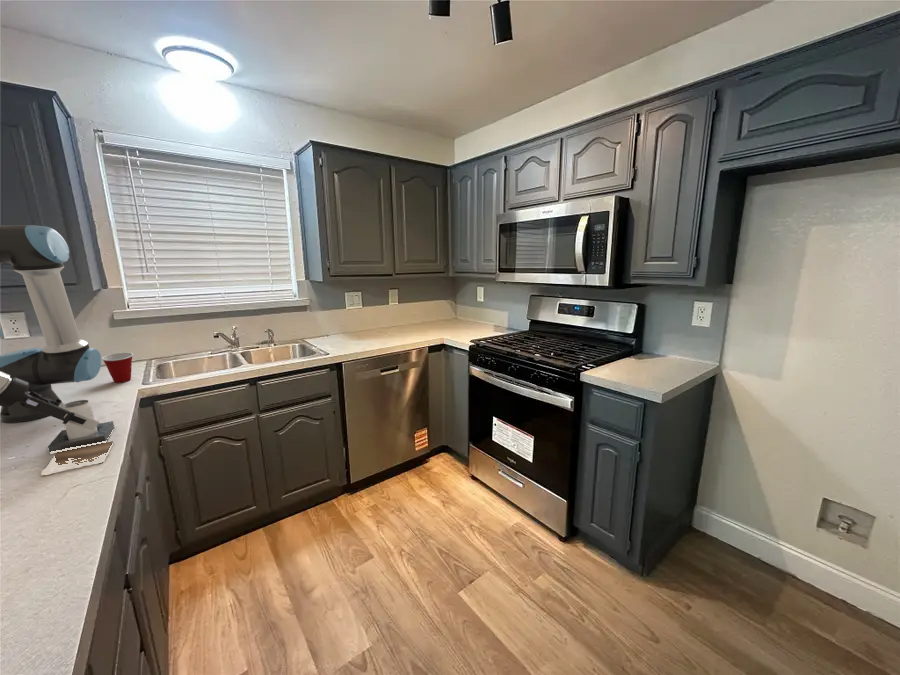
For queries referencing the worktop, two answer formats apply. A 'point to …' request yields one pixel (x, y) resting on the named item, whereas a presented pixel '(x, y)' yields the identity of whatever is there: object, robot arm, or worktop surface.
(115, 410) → the worktop surface
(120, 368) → the plastic cup
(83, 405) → the can
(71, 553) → the worktop surface
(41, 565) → the worktop surface
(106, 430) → the steel collar
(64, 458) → the walnut pad
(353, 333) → the worktop surface
